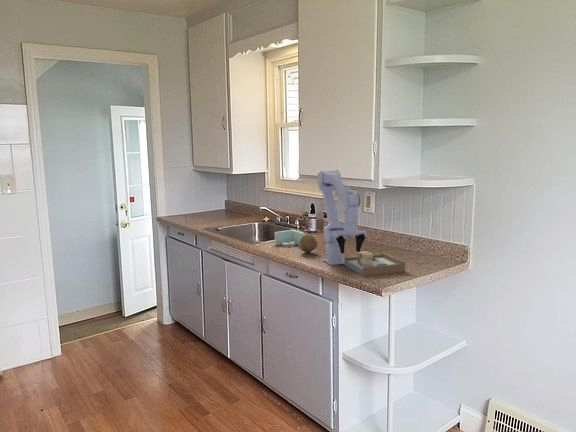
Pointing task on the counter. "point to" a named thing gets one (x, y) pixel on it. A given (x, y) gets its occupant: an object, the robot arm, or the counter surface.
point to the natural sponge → (308, 243)
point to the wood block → (365, 258)
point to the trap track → (376, 265)
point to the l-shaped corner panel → (288, 238)
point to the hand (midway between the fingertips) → (350, 252)
